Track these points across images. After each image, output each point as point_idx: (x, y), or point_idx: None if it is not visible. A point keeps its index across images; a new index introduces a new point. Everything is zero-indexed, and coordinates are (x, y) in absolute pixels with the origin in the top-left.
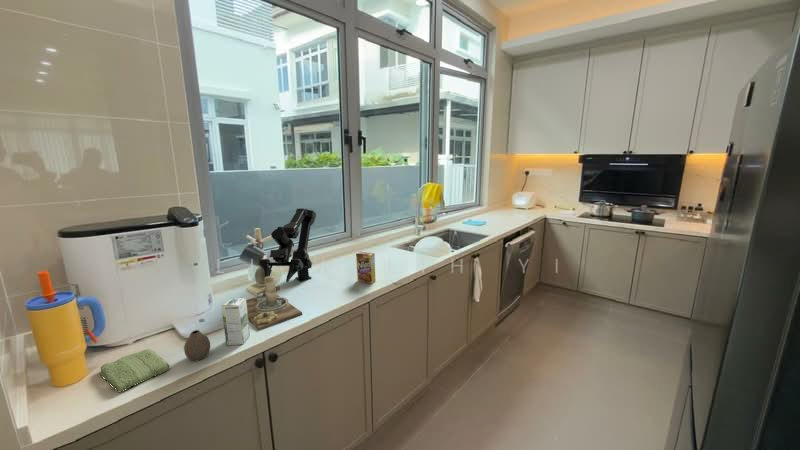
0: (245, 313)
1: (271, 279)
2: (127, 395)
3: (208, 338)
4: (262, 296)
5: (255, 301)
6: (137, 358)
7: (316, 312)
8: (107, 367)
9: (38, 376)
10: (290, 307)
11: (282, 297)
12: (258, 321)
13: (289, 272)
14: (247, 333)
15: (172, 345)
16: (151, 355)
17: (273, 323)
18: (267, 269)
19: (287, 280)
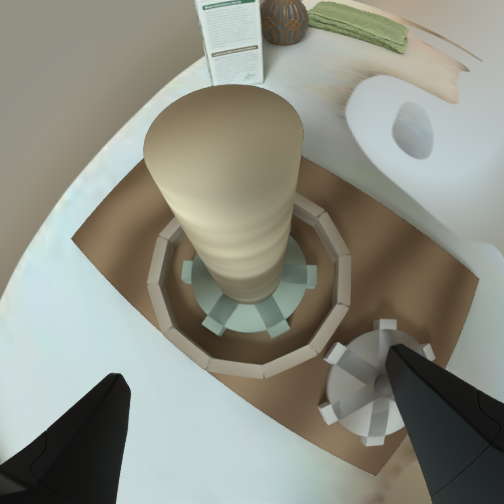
0: (197, 14)
1: (169, 118)
2: (305, 7)
3: (268, 15)
4: None
5: (403, 325)
6: (371, 22)
7: (35, 269)
8: (386, 18)
9: (458, 46)
10: (133, 279)
11: (224, 371)
12: None
13: (44, 445)
14: (209, 71)
15: (387, 64)
16: (359, 23)
17: None
18: (493, 452)
19: (107, 385)
